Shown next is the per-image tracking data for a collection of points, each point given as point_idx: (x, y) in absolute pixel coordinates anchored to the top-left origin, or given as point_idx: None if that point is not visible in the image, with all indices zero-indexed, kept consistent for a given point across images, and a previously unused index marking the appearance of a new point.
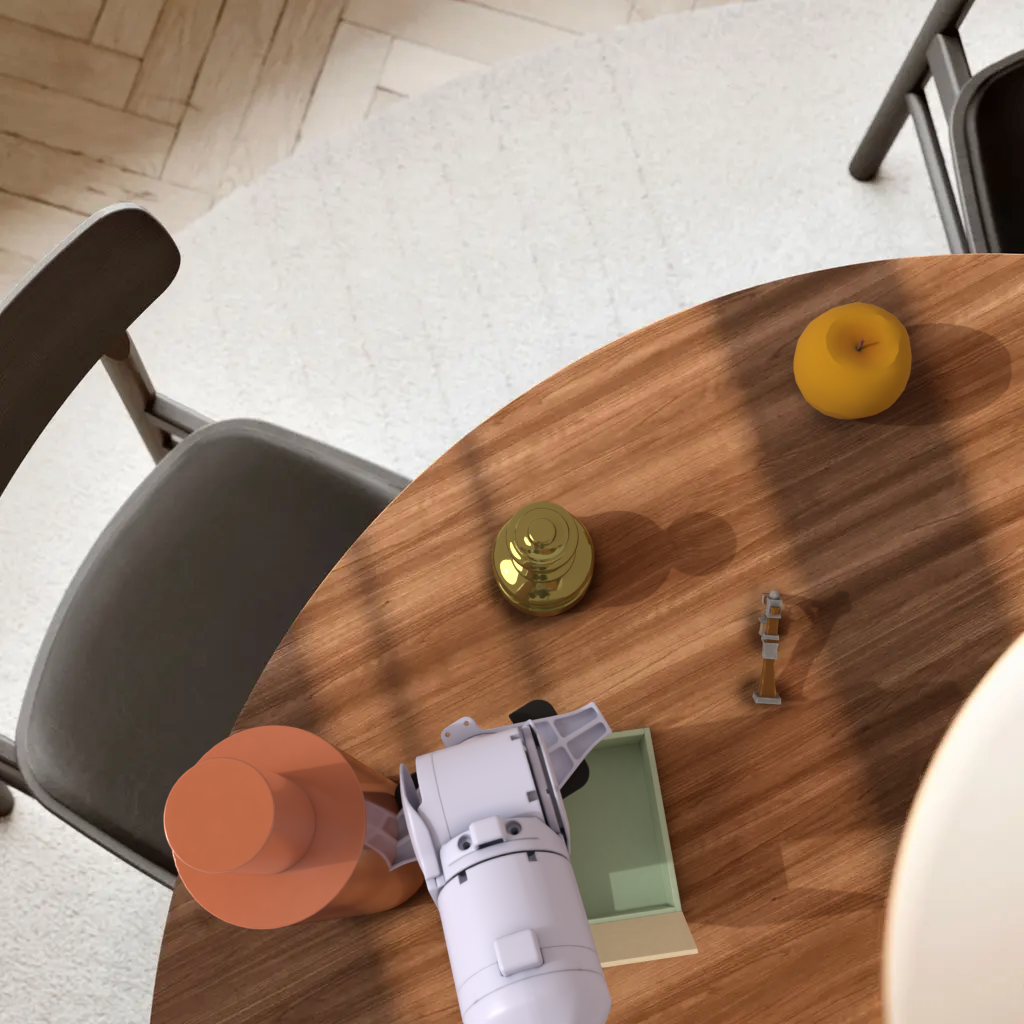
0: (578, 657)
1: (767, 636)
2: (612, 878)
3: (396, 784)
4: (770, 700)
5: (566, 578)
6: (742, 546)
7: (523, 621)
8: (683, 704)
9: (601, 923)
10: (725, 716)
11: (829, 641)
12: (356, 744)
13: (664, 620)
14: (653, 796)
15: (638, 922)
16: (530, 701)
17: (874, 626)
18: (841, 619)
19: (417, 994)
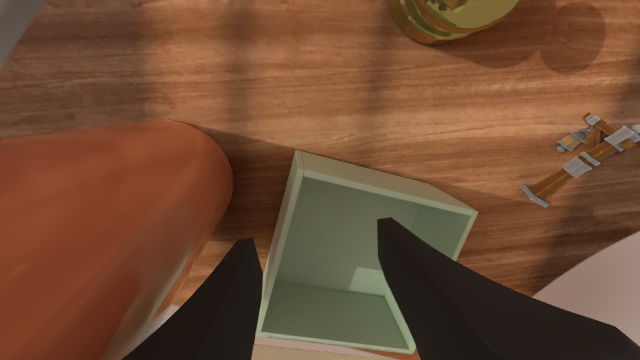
0: (419, 95)
1: (592, 159)
2: (357, 271)
3: (182, 182)
4: (541, 202)
5: (494, 2)
6: (598, 61)
7: (391, 34)
8: (472, 171)
9: (349, 355)
10: (493, 192)
11: (592, 170)
12: (180, 82)
13: (502, 96)
14: None
15: None
16: (623, 356)
17: (624, 172)
18: (611, 158)
19: (183, 294)
